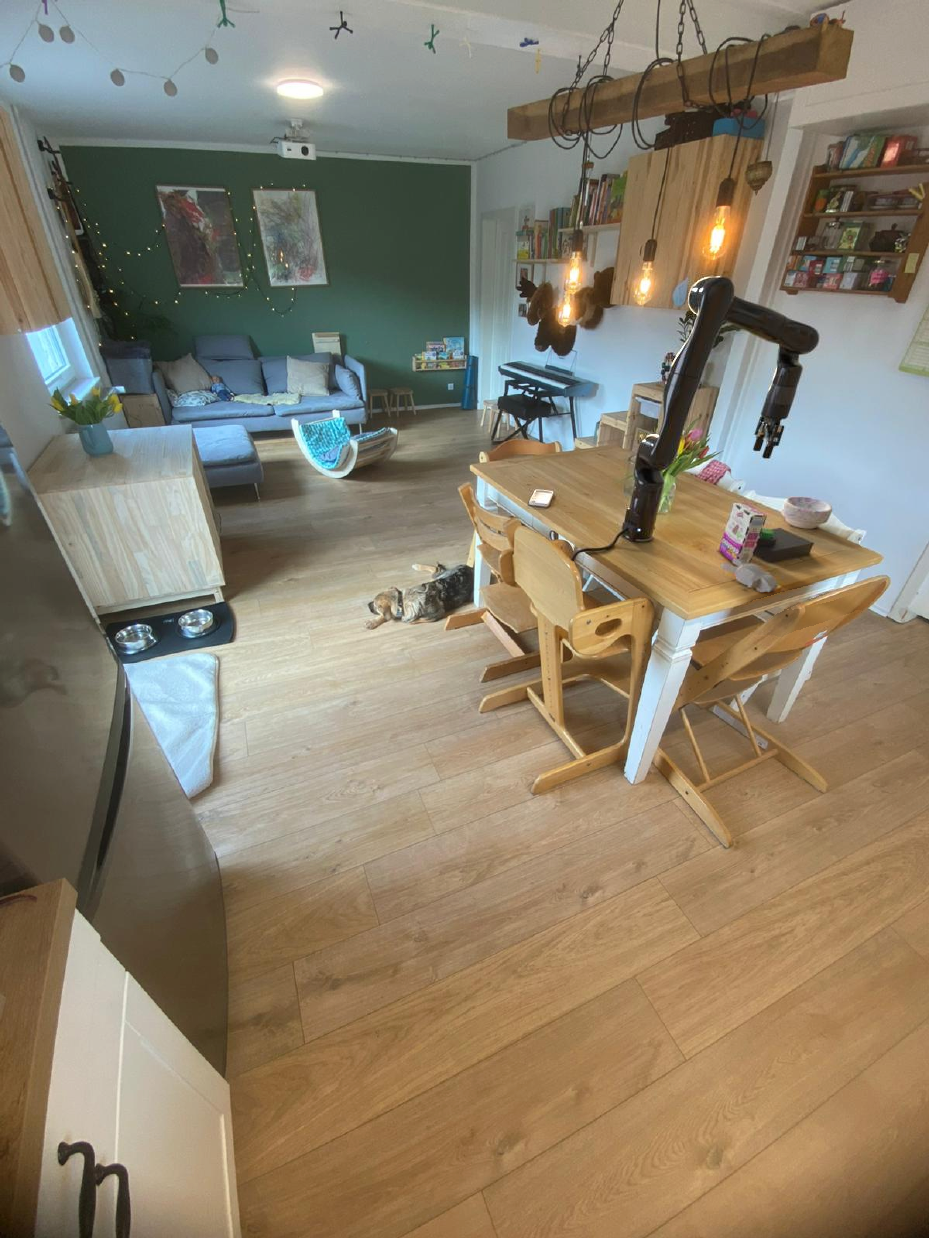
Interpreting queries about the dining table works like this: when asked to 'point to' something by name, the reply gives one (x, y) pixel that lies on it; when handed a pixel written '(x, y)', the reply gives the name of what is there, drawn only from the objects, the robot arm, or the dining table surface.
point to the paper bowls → (805, 512)
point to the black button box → (782, 546)
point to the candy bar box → (742, 532)
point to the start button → (766, 533)
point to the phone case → (541, 498)
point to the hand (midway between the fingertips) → (761, 454)
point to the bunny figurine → (752, 576)
